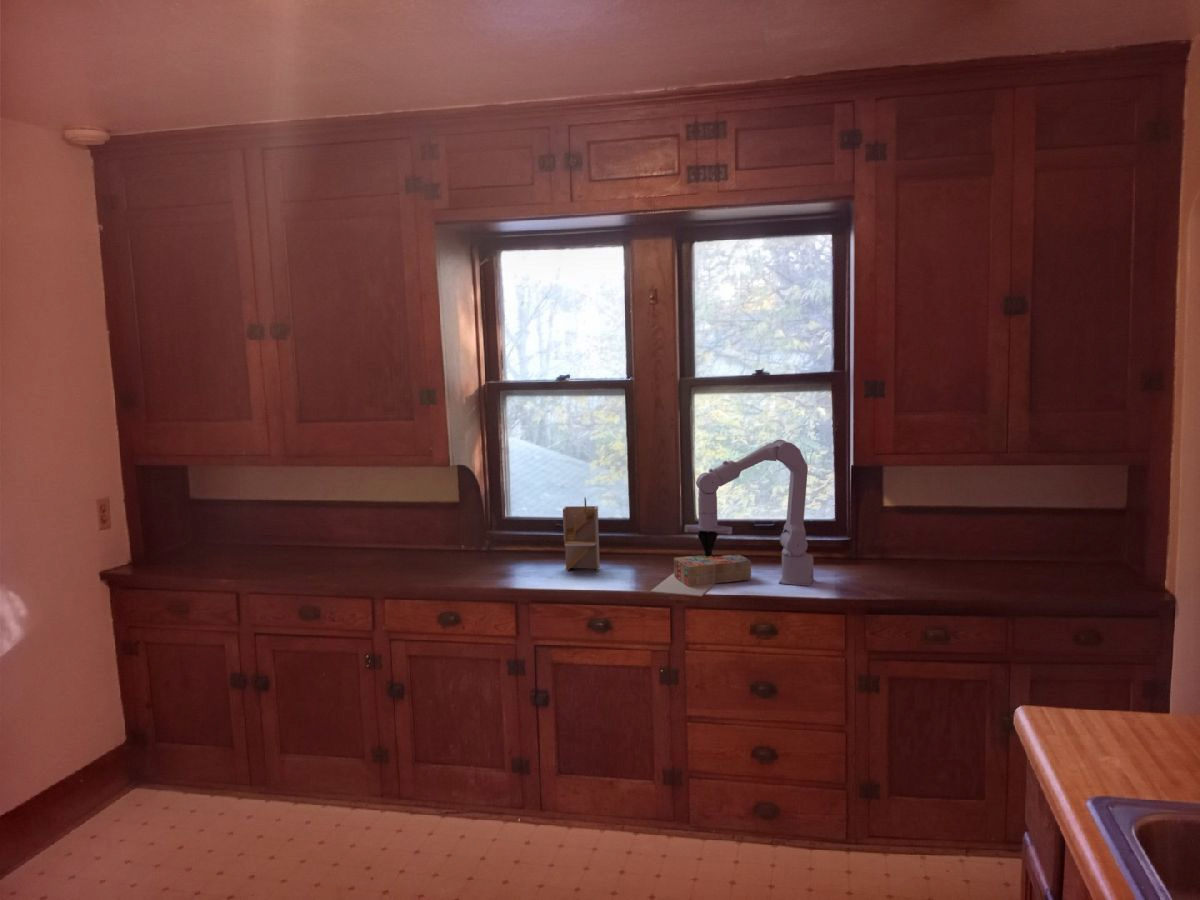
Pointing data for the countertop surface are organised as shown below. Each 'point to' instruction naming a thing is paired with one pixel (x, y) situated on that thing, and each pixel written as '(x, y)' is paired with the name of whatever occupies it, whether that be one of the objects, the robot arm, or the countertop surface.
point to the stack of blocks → (711, 569)
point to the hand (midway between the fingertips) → (708, 555)
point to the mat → (680, 587)
